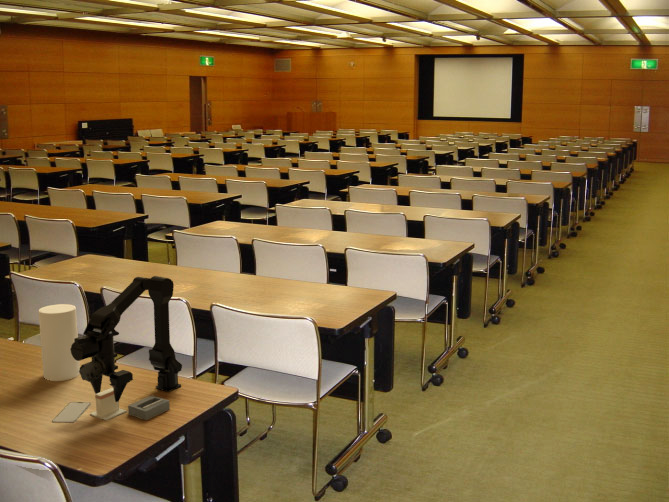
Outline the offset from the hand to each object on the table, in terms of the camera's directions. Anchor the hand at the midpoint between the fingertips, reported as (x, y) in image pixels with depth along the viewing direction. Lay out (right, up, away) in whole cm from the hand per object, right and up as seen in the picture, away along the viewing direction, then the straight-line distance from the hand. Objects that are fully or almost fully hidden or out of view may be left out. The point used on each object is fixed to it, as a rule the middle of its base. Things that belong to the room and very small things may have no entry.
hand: (107, 398), depth 223 cm
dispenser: (+13, -5, +2) cm, 14 cm away
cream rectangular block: (0, -5, +1) cm, 5 cm away
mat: (0, -5, +1) cm, 5 cm away
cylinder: (-27, +1, +34) cm, 43 cm away
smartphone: (-12, -5, +1) cm, 13 cm away
